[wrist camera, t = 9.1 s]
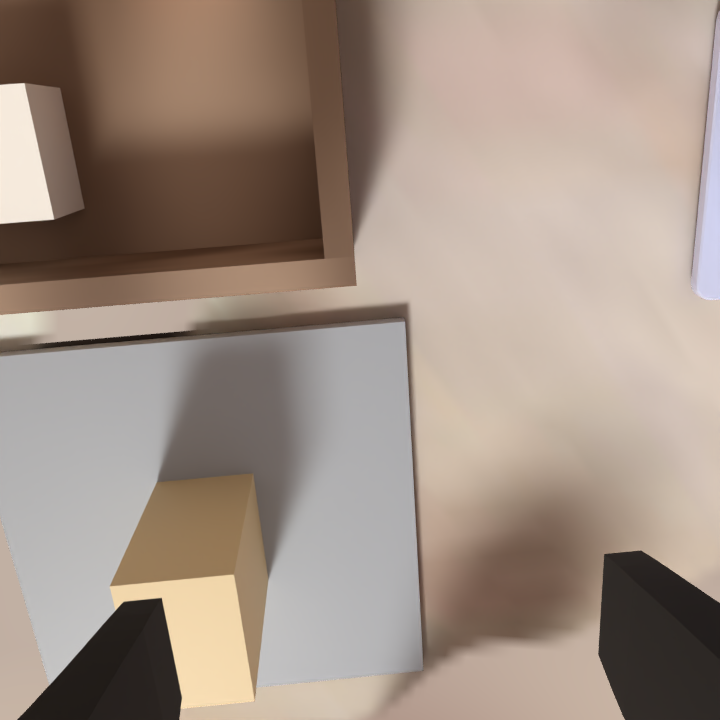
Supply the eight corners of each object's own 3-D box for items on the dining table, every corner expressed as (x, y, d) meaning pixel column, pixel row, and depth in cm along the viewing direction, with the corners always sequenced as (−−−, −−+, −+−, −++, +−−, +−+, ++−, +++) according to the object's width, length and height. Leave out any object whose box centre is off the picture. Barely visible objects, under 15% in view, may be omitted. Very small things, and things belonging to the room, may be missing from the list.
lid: (401, 312, 21) (431, 384, 15) (419, 650, 25) (448, 804, 19) (-29, 349, 20) (-164, 437, 15) (66, 685, 25) (-10, 852, 19)
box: (310, -264, 15) (308, -369, 12) (350, 258, 19) (356, 285, 16) (-227, -233, 15) (-380, -332, 12) (-74, 291, 19) (-157, 327, 16)
